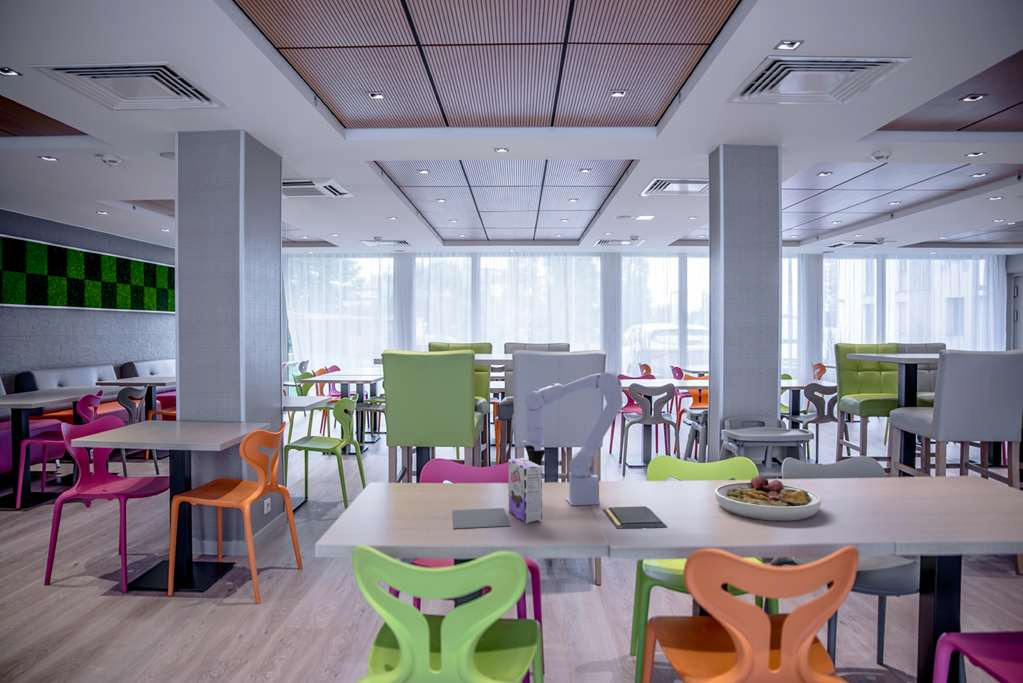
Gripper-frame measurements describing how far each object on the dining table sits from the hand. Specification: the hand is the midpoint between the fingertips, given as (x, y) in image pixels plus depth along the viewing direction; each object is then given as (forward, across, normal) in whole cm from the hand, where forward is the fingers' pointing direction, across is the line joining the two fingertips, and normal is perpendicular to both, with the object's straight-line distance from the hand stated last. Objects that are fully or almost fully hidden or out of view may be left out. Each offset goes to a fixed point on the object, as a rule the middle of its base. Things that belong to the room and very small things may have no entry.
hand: (534, 468), depth 200 cm
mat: (+10, +18, -19) cm, 28 cm away
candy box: (+11, +18, -6) cm, 22 cm away
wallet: (+11, +24, +26) cm, 37 cm away
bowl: (+10, +21, +69) cm, 73 cm away
